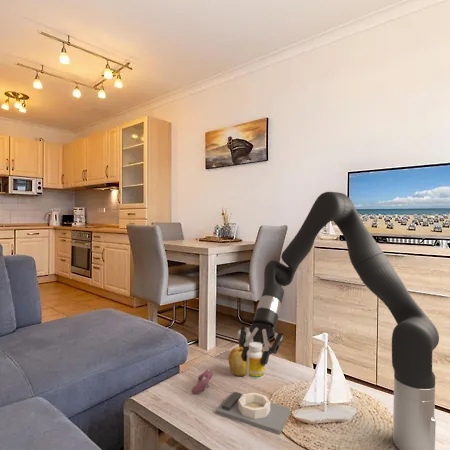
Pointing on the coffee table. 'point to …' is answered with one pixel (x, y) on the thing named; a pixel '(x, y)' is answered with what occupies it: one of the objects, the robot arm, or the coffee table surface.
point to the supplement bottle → (254, 361)
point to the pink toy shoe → (202, 382)
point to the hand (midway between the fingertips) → (253, 362)
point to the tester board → (261, 422)
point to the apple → (237, 362)
